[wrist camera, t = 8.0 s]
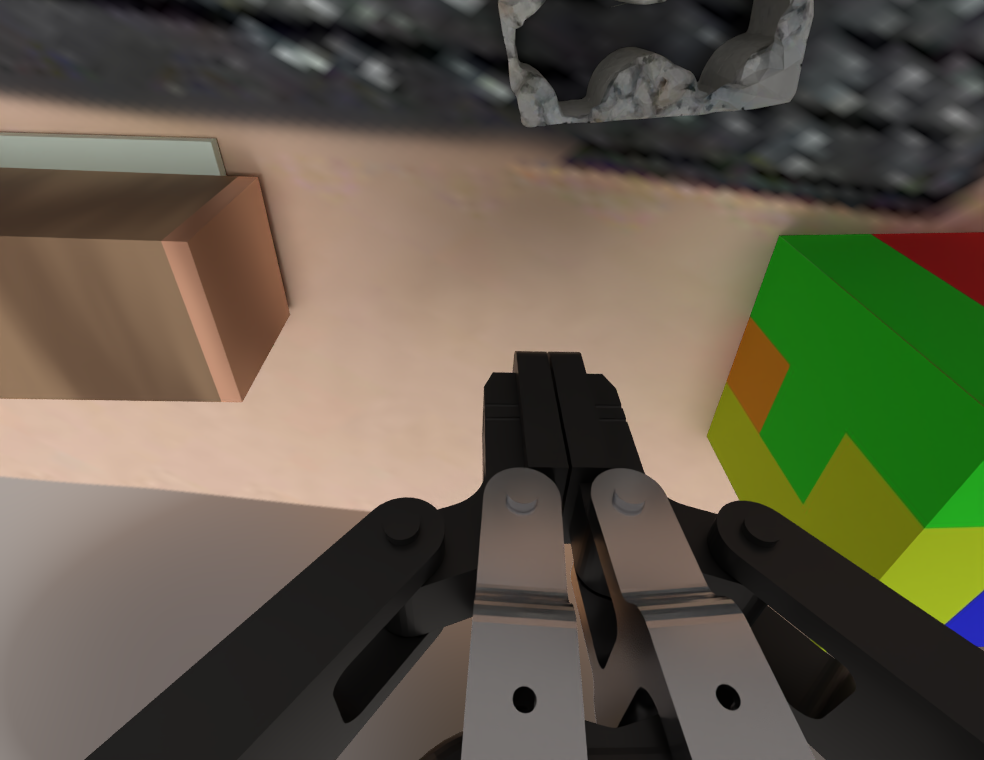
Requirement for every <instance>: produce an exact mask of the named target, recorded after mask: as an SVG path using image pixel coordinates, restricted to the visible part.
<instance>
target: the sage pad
mask: <svg viewBox="0 0 984 760" xmlns="http://www.w3.org/2000/svg"><path fill="white" fill-rule="evenodd" d="M0 167H3V168H29V169H56V170H83V171H109V172H136V173H163V174H189V175H216V176H226V172H225V169H224V165H223V161H222V158H221V154H220V151H219V147H218V144H217V140H216V138H182V137H148V136H114V135H80V134H45V133H11V132H0Z"/></svg>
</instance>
